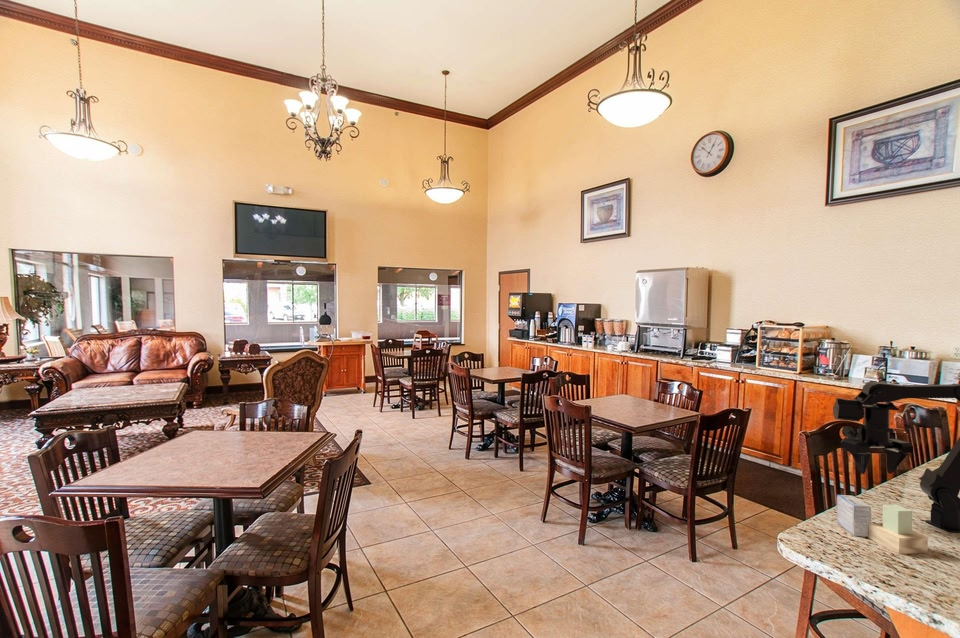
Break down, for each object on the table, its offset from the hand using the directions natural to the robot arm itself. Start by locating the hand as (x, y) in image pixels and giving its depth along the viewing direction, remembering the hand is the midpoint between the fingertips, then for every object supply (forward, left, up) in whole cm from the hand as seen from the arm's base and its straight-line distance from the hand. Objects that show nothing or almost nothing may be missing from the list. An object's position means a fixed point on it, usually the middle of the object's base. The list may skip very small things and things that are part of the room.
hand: (876, 473), depth 133 cm
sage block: (+12, +17, -9) cm, 23 cm away
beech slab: (+12, +17, -13) cm, 24 cm away
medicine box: (+16, +9, -13) cm, 22 cm away
